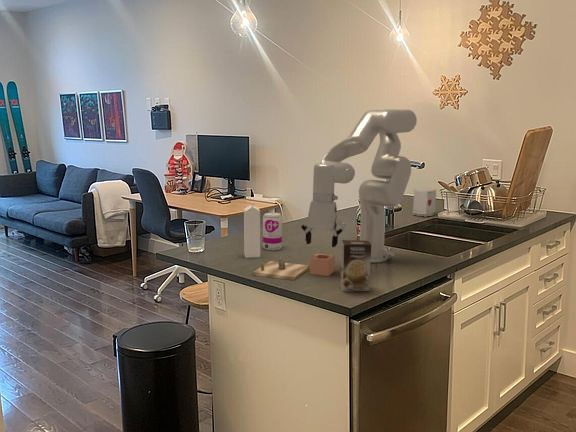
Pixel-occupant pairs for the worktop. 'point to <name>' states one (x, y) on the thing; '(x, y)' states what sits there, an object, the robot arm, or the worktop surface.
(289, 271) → the post base
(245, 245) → the milk
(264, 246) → the supplement can
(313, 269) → the square nut with handle
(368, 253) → the coffee box
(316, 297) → the worktop surface
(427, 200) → the supplement box
